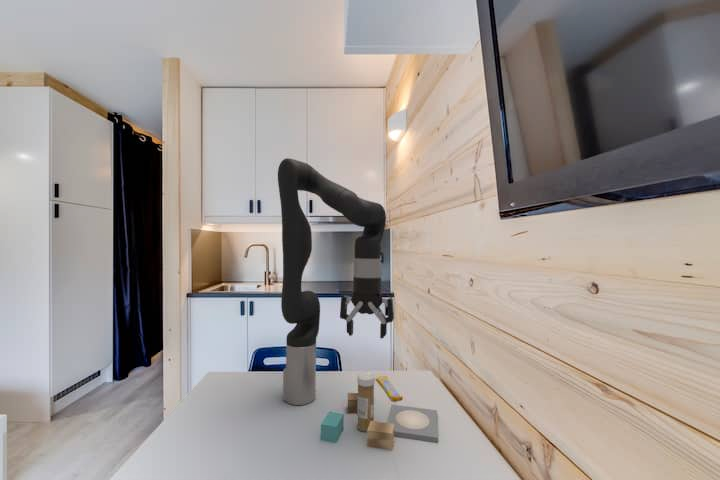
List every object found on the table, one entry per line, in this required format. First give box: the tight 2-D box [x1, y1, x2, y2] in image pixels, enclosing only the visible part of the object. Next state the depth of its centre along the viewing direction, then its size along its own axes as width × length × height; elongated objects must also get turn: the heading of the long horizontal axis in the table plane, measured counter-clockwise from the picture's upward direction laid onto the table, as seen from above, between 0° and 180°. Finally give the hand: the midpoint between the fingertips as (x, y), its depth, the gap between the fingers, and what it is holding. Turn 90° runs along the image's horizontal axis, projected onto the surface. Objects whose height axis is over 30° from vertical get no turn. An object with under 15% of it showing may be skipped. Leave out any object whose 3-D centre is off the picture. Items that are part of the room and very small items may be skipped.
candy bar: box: [375, 375, 404, 402], centre depth 102 cm, size 17×4×2 cm, turn 14°
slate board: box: [386, 403, 439, 444], centre depth 82 cm, size 13×13×1 cm
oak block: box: [366, 420, 395, 451], centre depth 74 cm, size 6×4×4 cm, turn 77°
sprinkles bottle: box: [356, 372, 376, 433], centre depth 81 cm, size 5×5×13 cm
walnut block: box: [347, 392, 358, 414], centre depth 89 cm, size 6×4×4 cm, turn 92°
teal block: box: [320, 411, 345, 444], centre depth 77 cm, size 4×6×4 cm, turn 166°
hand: (366, 336), depth 81 cm, fingers open, 8 cm apart
